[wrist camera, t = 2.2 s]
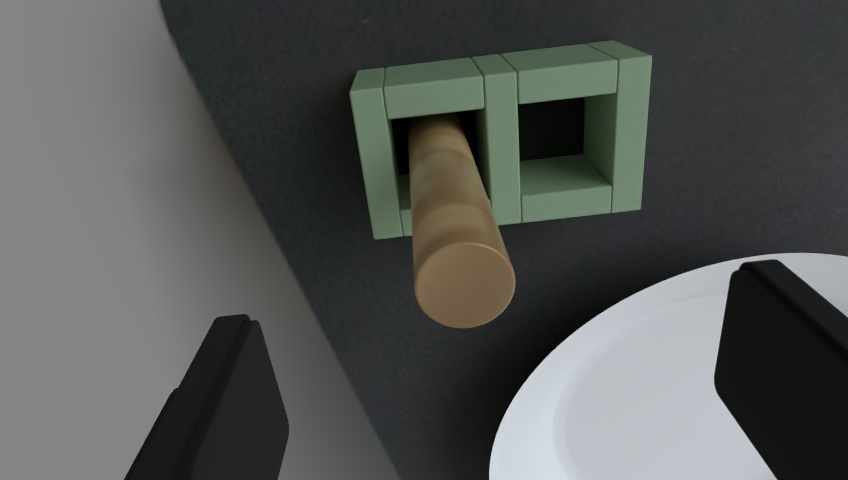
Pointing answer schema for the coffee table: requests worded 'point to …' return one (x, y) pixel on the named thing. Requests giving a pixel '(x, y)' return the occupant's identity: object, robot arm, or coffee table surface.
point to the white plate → (644, 388)
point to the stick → (454, 228)
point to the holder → (513, 130)
